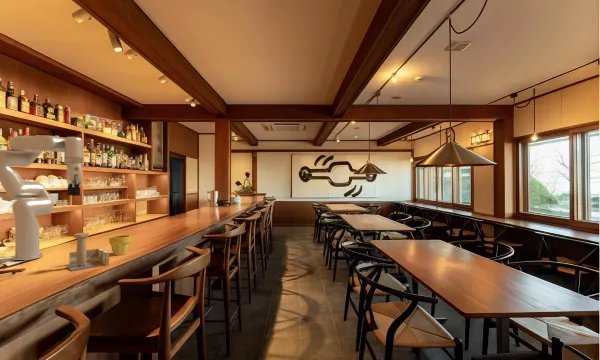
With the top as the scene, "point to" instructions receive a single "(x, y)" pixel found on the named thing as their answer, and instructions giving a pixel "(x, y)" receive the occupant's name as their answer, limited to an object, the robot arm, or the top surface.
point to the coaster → (76, 267)
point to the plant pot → (120, 244)
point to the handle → (81, 248)
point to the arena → (91, 256)
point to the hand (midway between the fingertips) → (73, 195)
